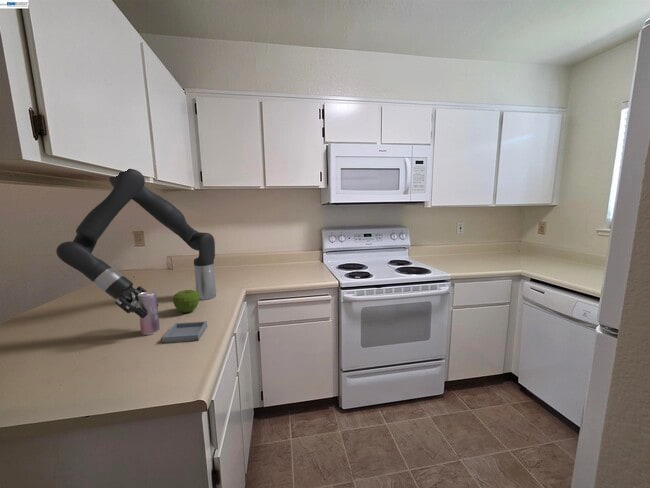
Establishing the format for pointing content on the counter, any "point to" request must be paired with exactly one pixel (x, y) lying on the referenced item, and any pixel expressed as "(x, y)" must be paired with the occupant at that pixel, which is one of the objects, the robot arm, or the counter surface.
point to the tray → (185, 332)
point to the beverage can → (149, 312)
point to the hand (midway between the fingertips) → (151, 311)
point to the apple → (186, 300)
